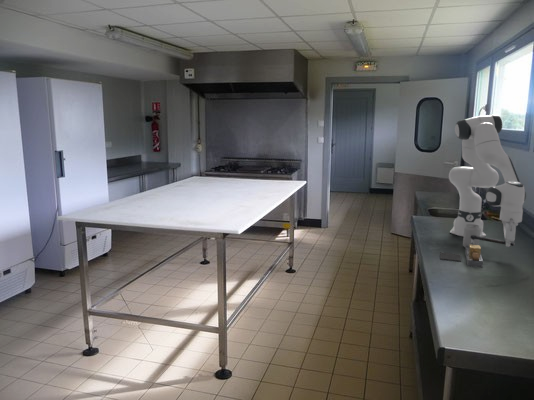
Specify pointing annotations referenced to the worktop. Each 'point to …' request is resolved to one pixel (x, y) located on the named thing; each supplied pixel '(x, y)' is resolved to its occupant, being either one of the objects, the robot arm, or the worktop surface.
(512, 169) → the robot arm
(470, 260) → the body
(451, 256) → the mat
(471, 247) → the brown wooden block
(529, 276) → the worktop surface
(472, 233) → the can
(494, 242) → the lever
